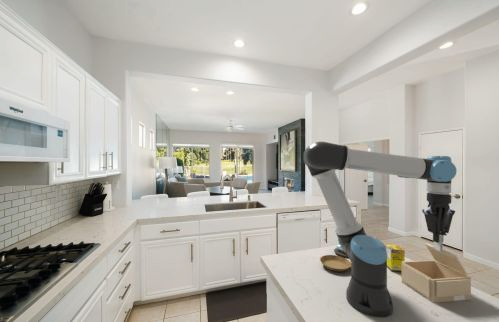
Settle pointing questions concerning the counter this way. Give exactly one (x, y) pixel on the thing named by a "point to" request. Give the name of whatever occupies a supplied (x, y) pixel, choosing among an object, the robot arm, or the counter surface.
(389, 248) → the supplement box
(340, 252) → the brown slatted round stand
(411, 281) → the carton
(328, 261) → the plant saucer
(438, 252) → the flap
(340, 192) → the robot arm
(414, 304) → the counter surface
